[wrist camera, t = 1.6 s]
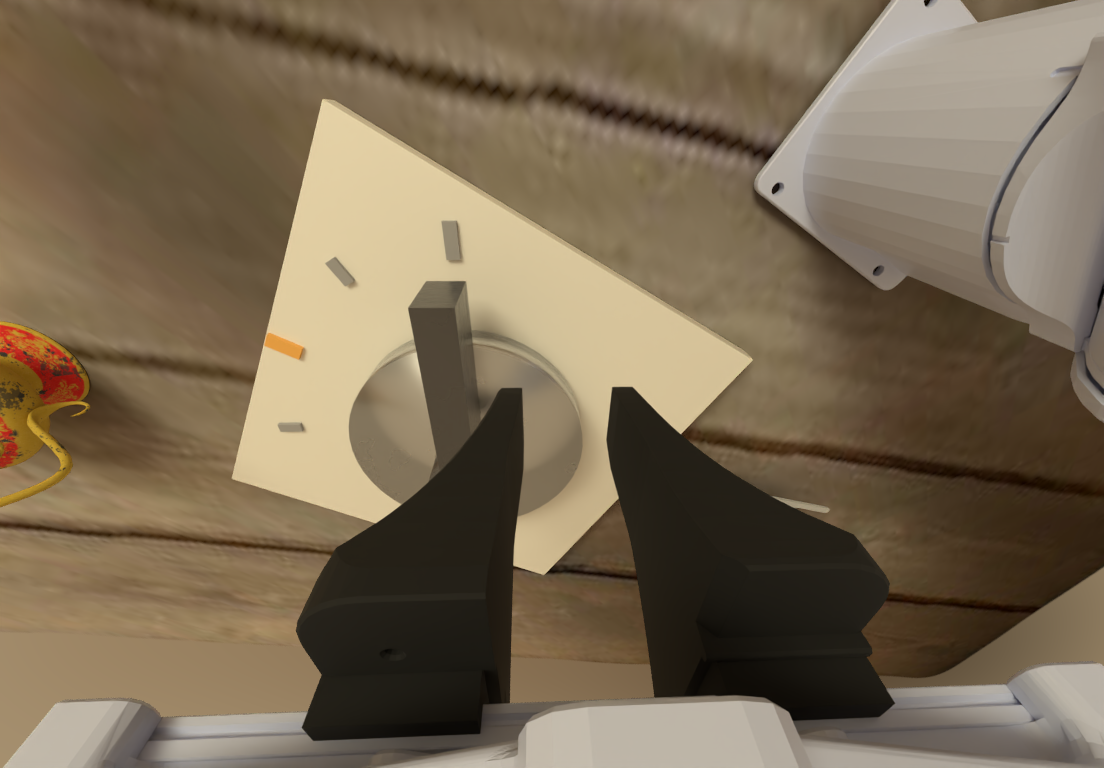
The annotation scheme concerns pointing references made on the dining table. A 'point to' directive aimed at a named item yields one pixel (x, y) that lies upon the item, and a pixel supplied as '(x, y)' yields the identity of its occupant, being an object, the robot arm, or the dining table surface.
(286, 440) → the dial plate
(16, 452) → the magic lamp
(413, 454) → the dial
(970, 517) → the dining table surface
